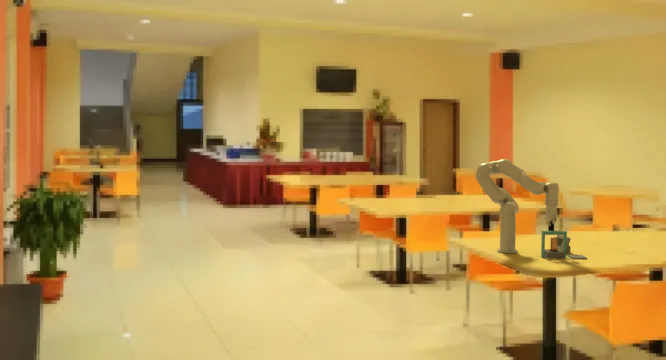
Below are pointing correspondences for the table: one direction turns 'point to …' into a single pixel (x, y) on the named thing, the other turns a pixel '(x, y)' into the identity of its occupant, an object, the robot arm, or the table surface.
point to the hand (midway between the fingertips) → (551, 232)
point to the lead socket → (554, 254)
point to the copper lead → (553, 244)
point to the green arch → (553, 234)
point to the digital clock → (560, 243)
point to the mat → (577, 257)
